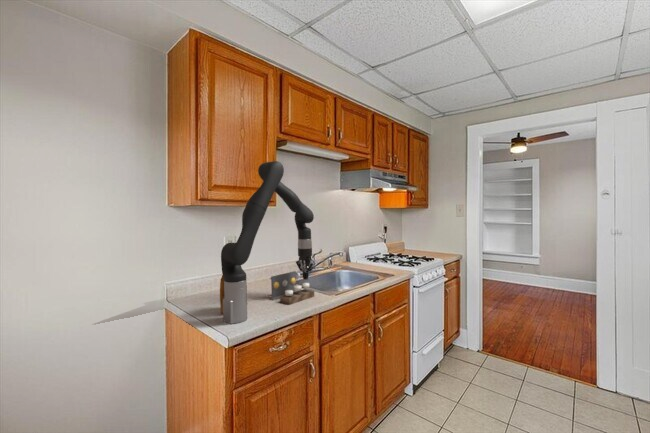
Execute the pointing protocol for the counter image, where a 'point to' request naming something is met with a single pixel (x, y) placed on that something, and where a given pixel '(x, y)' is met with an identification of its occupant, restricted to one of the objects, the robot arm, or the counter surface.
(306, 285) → the button far
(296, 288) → the button mid
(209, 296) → the counter surface
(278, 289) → the pattern card
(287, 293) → the button near
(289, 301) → the button board
